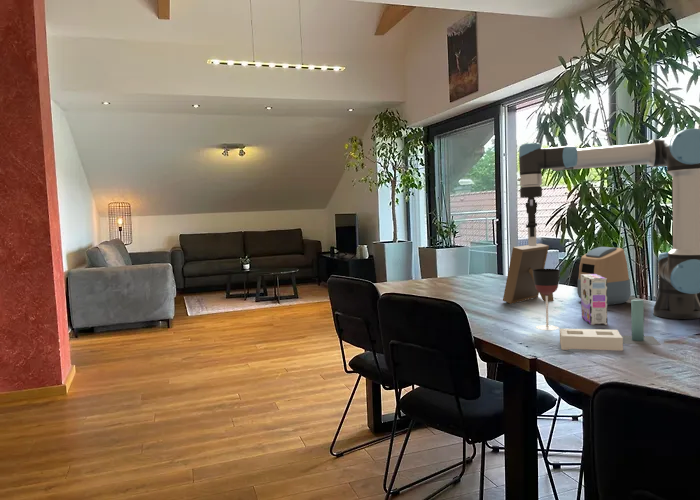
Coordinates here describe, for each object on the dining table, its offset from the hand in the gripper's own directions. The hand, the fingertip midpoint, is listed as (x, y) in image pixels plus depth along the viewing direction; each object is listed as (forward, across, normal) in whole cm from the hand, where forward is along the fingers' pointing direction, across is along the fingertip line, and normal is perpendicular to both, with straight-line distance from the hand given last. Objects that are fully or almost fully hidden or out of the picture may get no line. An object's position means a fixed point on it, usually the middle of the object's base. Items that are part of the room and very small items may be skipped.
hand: (532, 244), depth 191 cm
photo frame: (+28, -41, -1) cm, 50 cm away
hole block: (+28, +36, +15) cm, 48 cm away
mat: (+28, +28, +29) cm, 49 cm away
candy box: (+28, 0, +20) cm, 35 cm away
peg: (+28, +28, +29) cm, 49 cm away
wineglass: (+28, +12, +4) cm, 31 cm away
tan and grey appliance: (+28, -40, +28) cm, 57 cm away
